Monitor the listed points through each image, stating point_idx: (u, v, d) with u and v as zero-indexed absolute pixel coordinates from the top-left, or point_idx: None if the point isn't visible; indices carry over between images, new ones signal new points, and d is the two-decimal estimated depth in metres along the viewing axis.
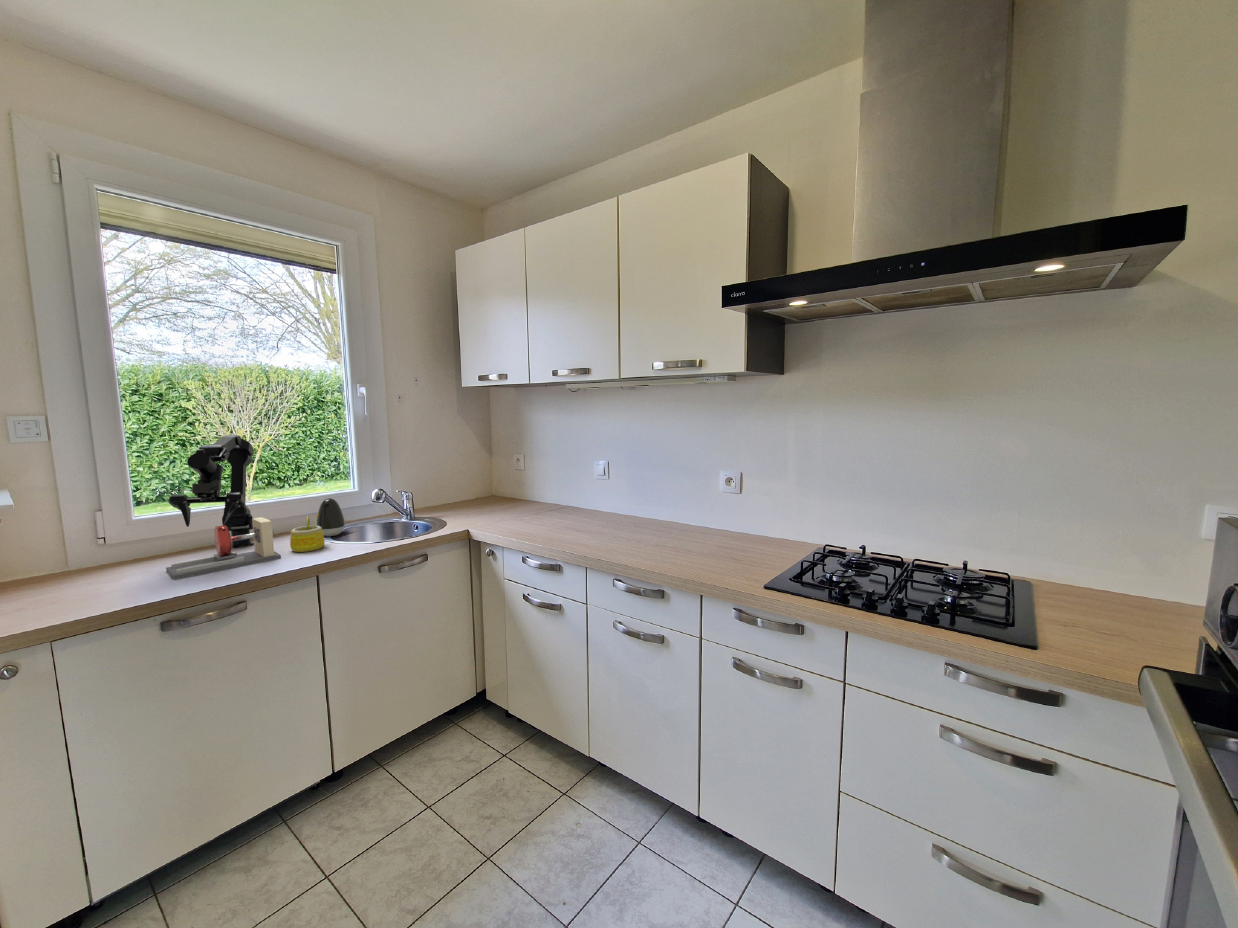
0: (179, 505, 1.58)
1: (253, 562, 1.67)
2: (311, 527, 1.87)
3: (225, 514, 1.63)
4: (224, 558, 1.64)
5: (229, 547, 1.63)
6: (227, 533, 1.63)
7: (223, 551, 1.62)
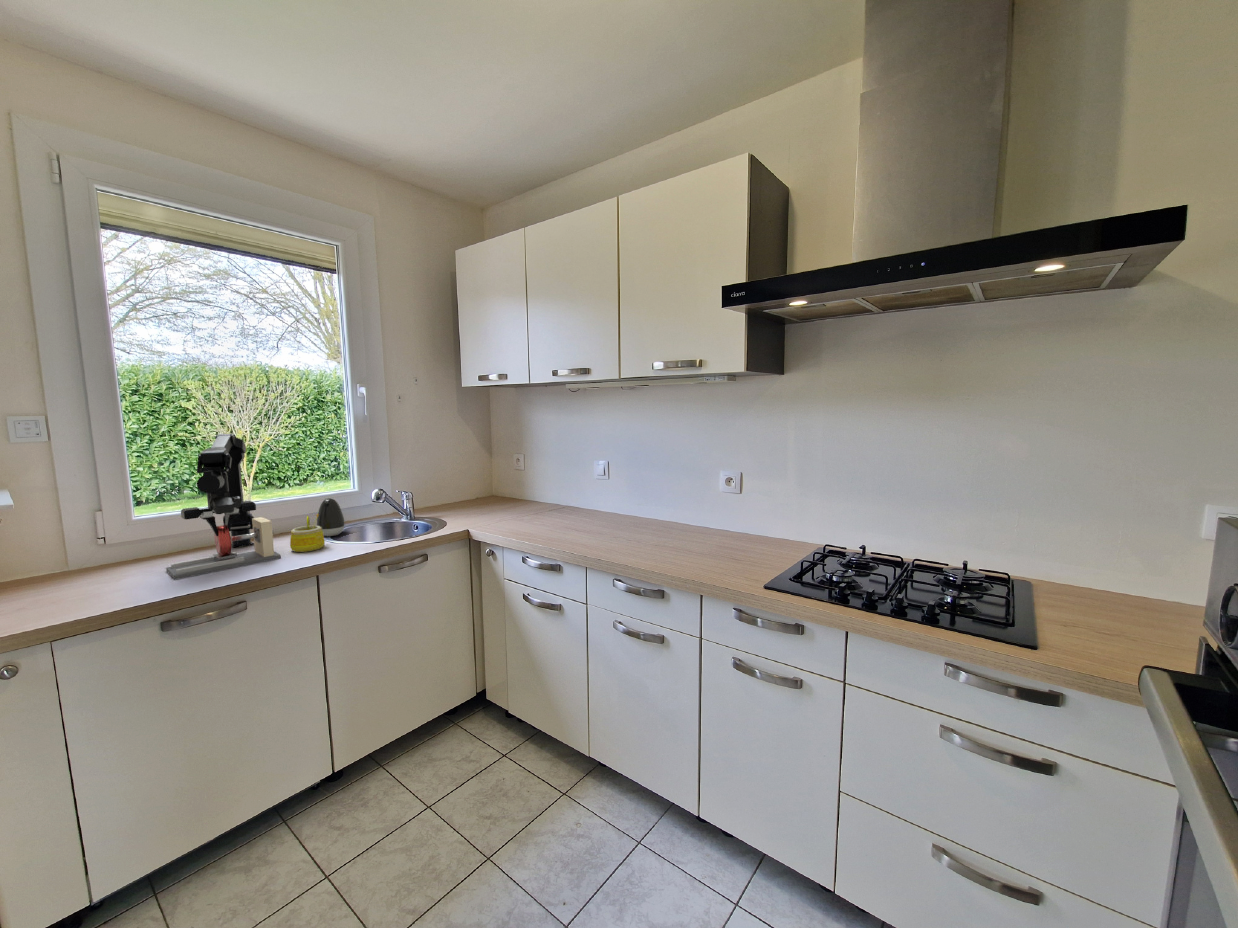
0: (209, 519, 1.60)
1: (253, 562, 1.67)
2: (311, 527, 1.87)
3: (229, 525, 1.66)
4: (224, 558, 1.64)
5: (229, 547, 1.63)
6: (227, 533, 1.63)
7: (223, 551, 1.62)
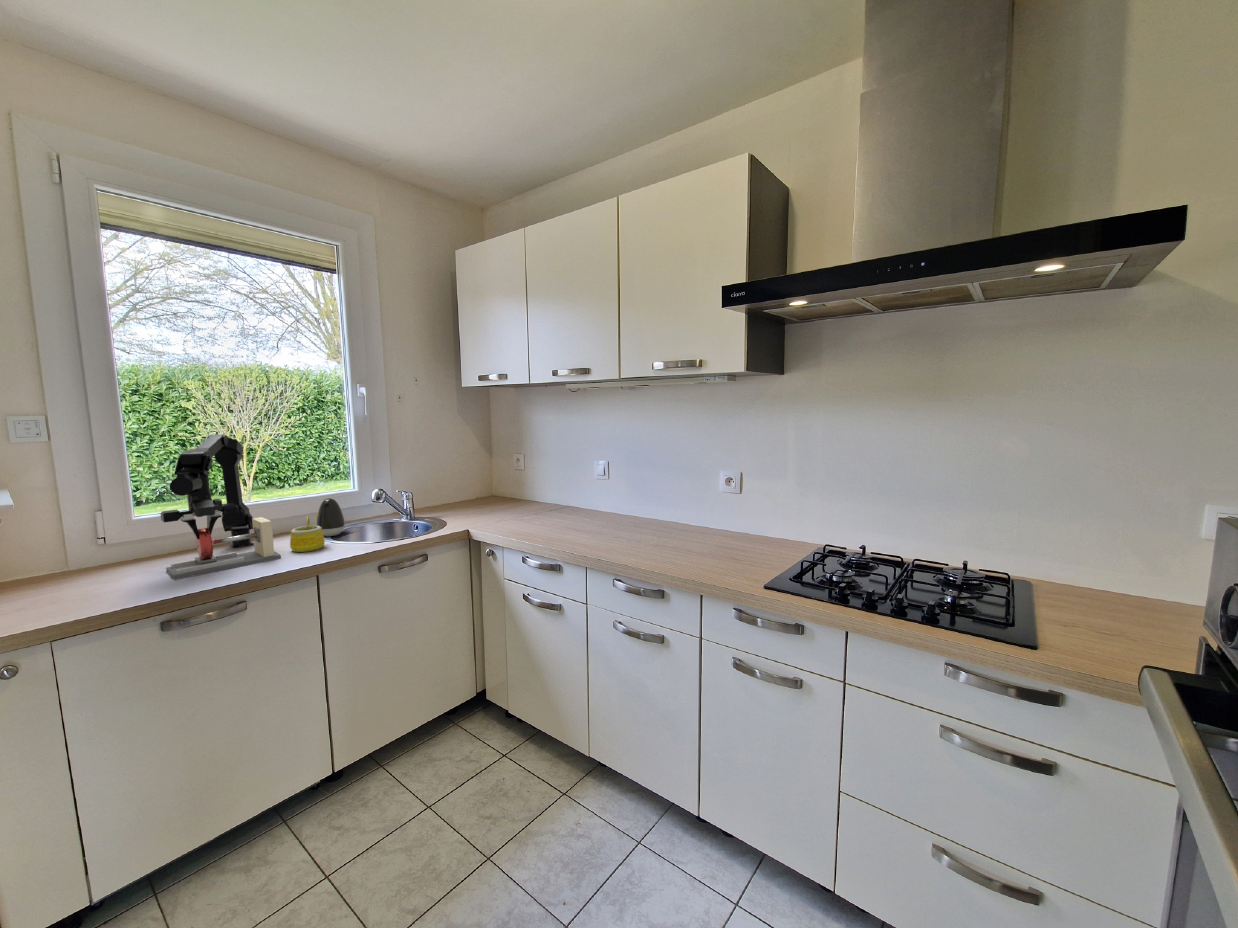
0: (189, 522, 1.57)
1: (253, 562, 1.67)
2: (311, 527, 1.87)
3: (211, 528, 1.62)
4: (205, 562, 1.60)
5: (210, 550, 1.59)
6: (208, 536, 1.59)
7: (204, 554, 1.59)
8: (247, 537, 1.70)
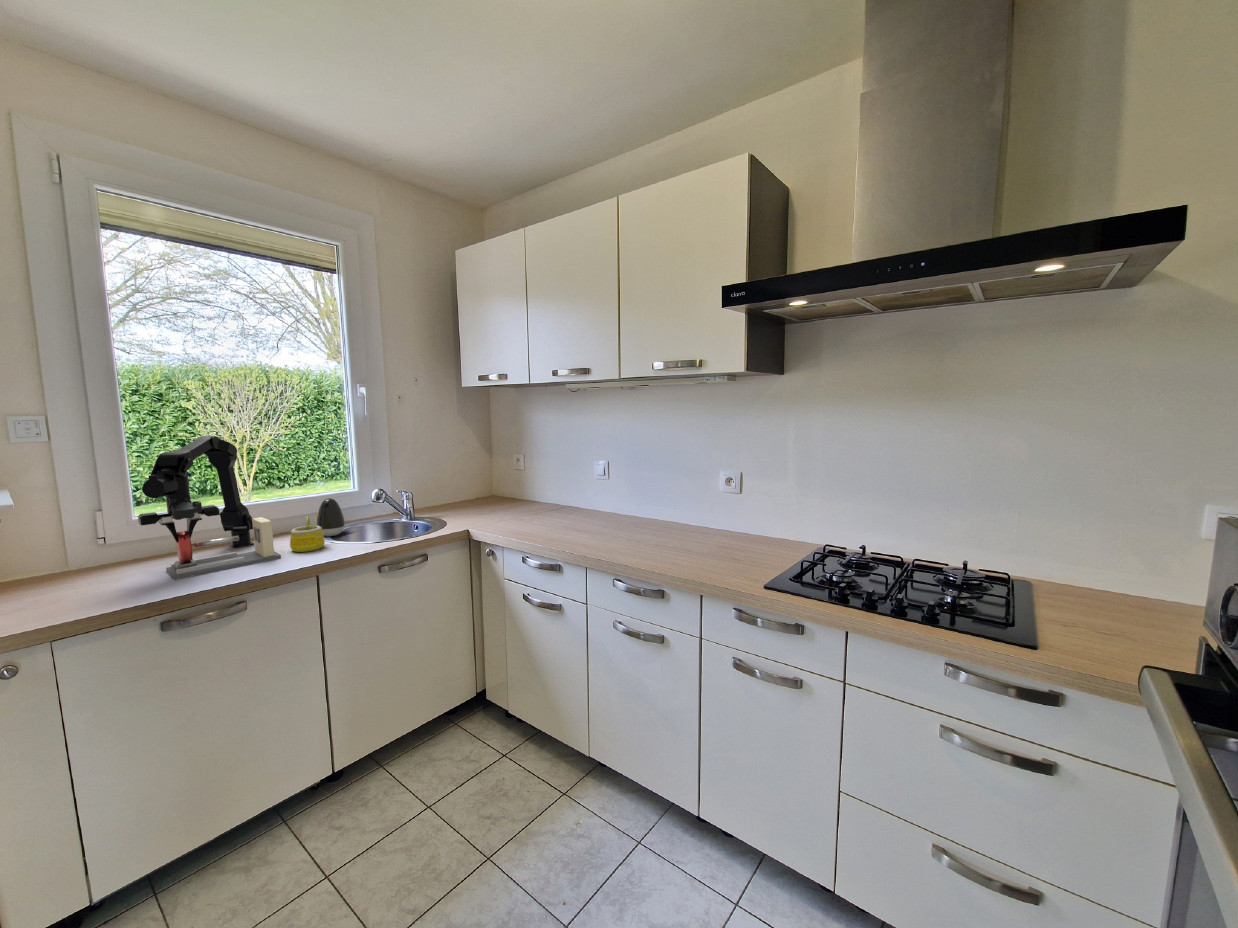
0: (168, 525, 1.53)
1: (253, 562, 1.67)
2: (311, 527, 1.87)
3: (190, 531, 1.58)
4: (185, 565, 1.56)
5: (190, 554, 1.56)
6: (188, 539, 1.55)
7: (183, 558, 1.55)
8: (229, 540, 1.66)
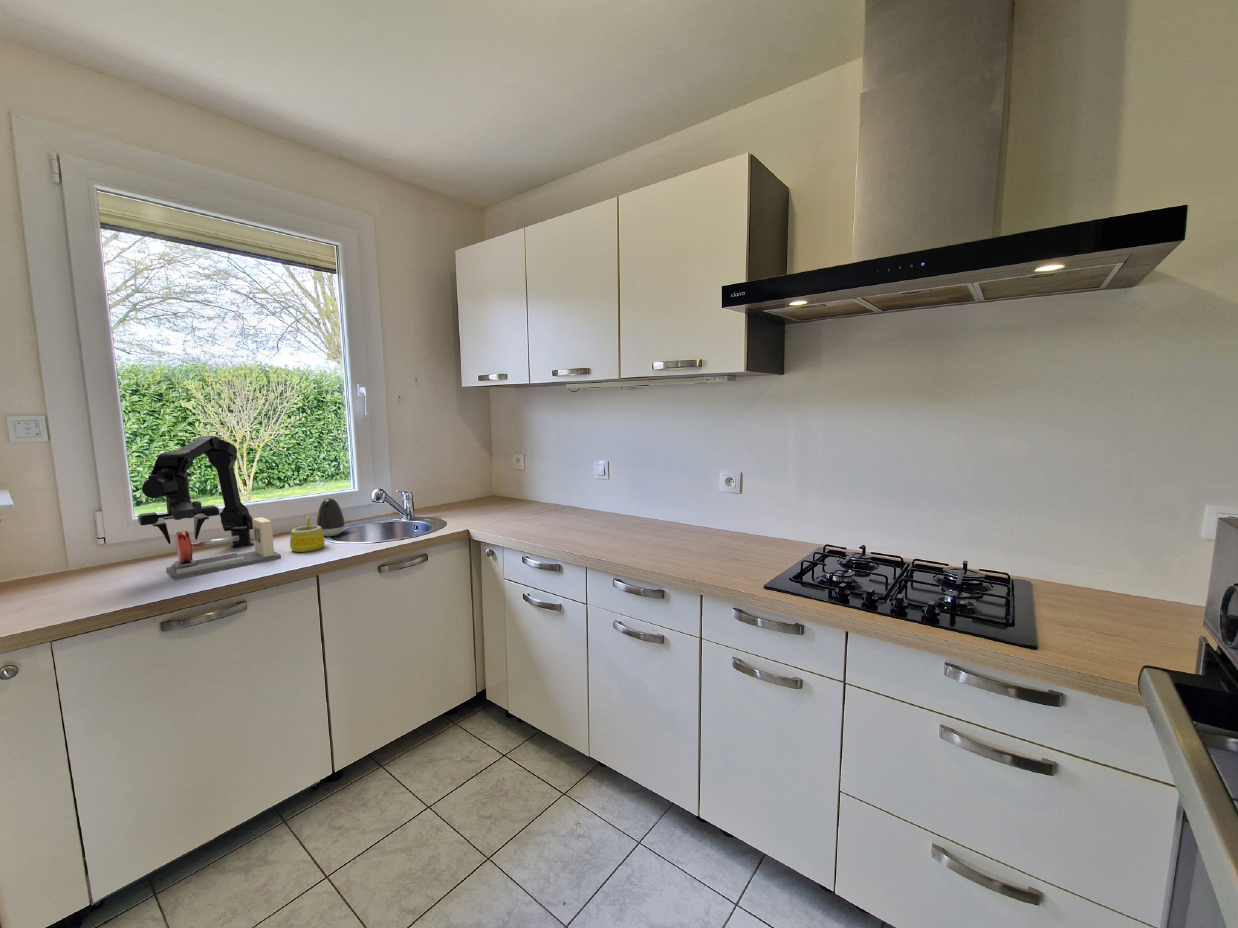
0: (160, 526, 1.52)
1: (253, 562, 1.67)
2: (311, 527, 1.87)
3: (198, 530, 1.60)
4: (185, 565, 1.56)
5: (190, 554, 1.56)
6: (188, 539, 1.55)
7: (183, 558, 1.55)
8: (228, 540, 1.66)
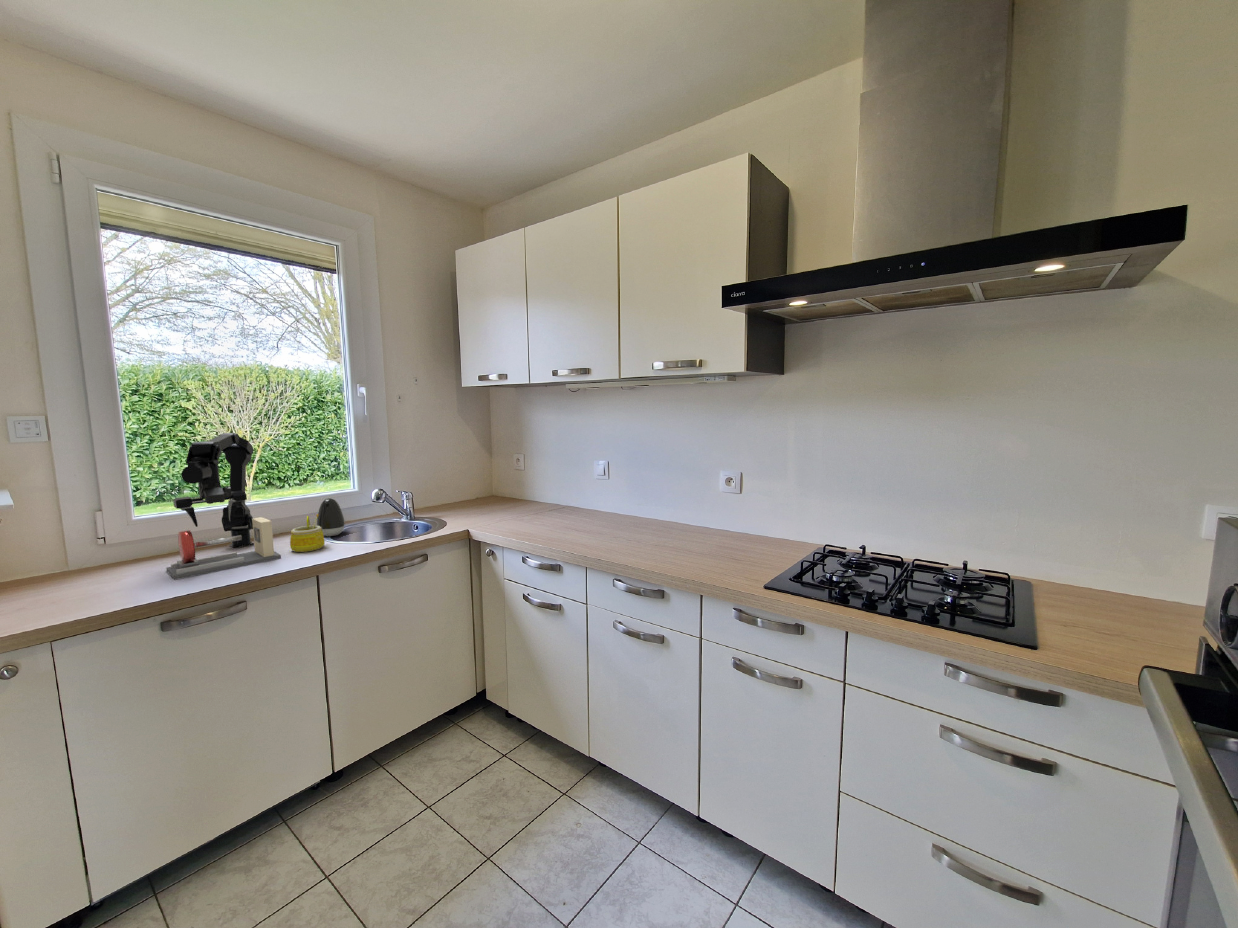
0: (188, 510, 1.63)
1: (253, 562, 1.67)
2: (311, 527, 1.87)
3: (232, 513, 1.73)
4: (187, 565, 1.57)
5: (193, 553, 1.56)
6: (190, 539, 1.56)
7: (186, 558, 1.55)
8: (231, 540, 1.67)
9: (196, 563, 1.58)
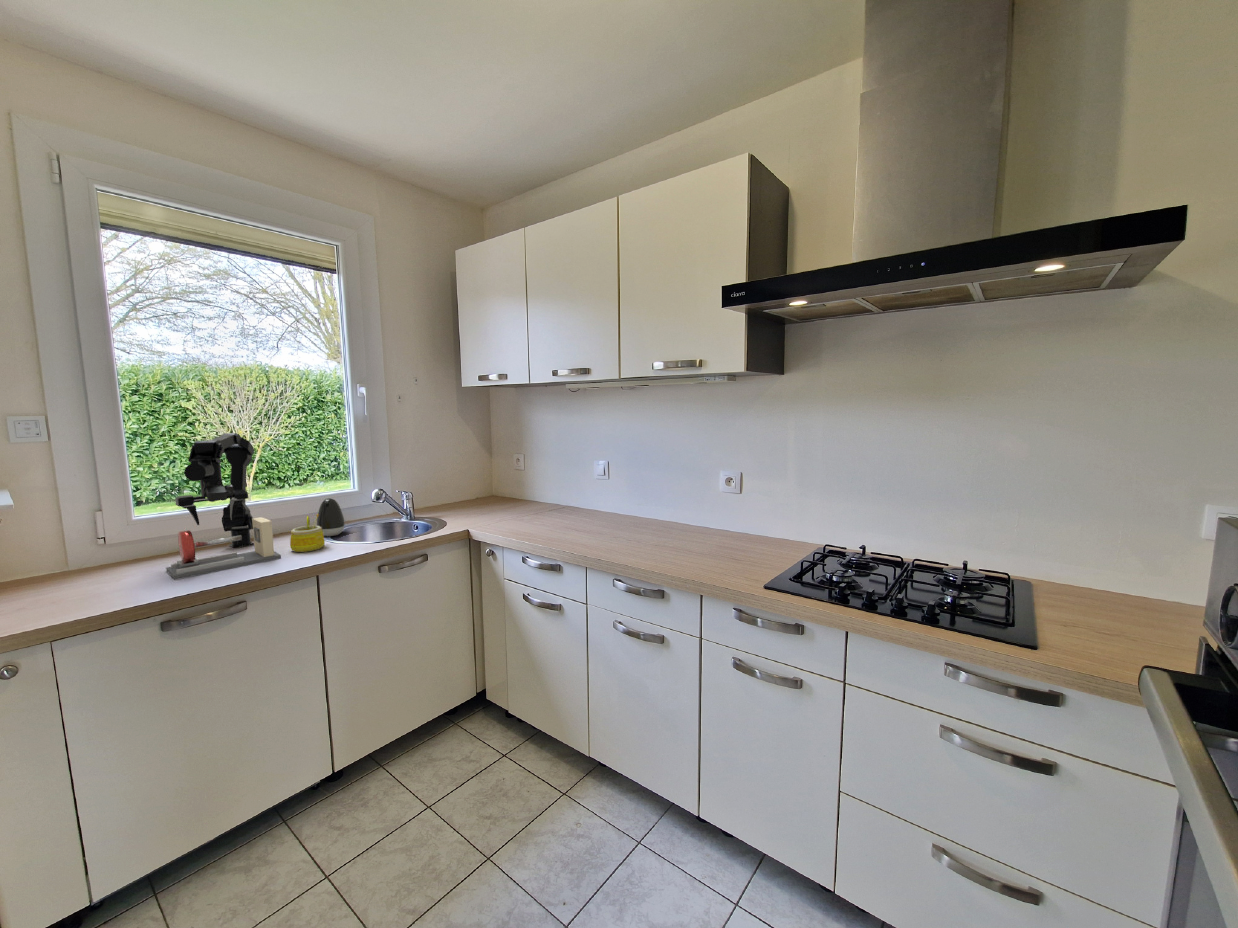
0: (190, 508, 1.64)
1: (253, 562, 1.67)
2: (311, 527, 1.87)
3: (234, 511, 1.74)
4: (187, 565, 1.57)
5: (193, 553, 1.56)
6: (190, 539, 1.56)
7: (186, 558, 1.55)
8: (231, 540, 1.67)
9: (196, 563, 1.58)
